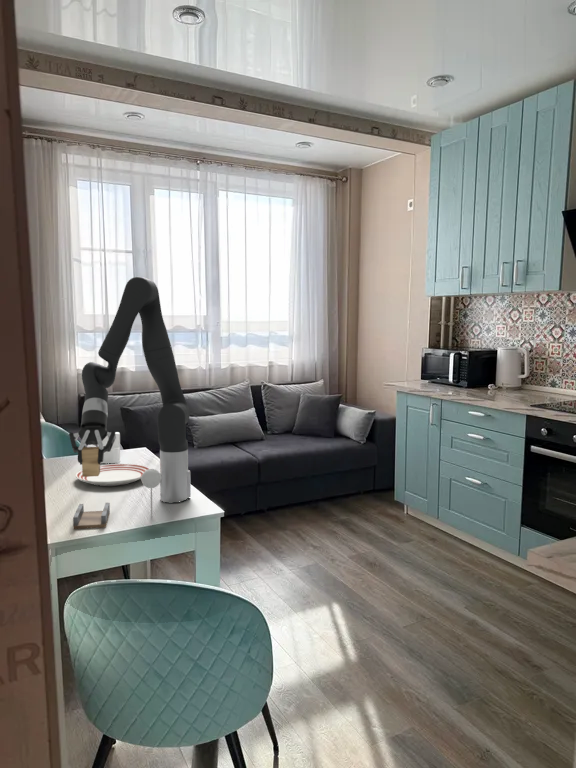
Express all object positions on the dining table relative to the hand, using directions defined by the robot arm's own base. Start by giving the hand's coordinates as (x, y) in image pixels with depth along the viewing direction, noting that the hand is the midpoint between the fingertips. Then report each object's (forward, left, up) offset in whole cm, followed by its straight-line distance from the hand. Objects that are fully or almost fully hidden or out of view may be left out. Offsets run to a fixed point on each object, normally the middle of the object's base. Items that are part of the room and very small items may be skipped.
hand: (90, 462), depth 164 cm
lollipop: (-16, +8, -18) cm, 25 cm away
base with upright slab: (-35, -63, -18) cm, 75 cm away
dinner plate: (-25, -37, -18) cm, 48 cm away
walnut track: (0, 0, -18) cm, 18 cm away
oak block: (-1, -2, -4) cm, 5 cm away
